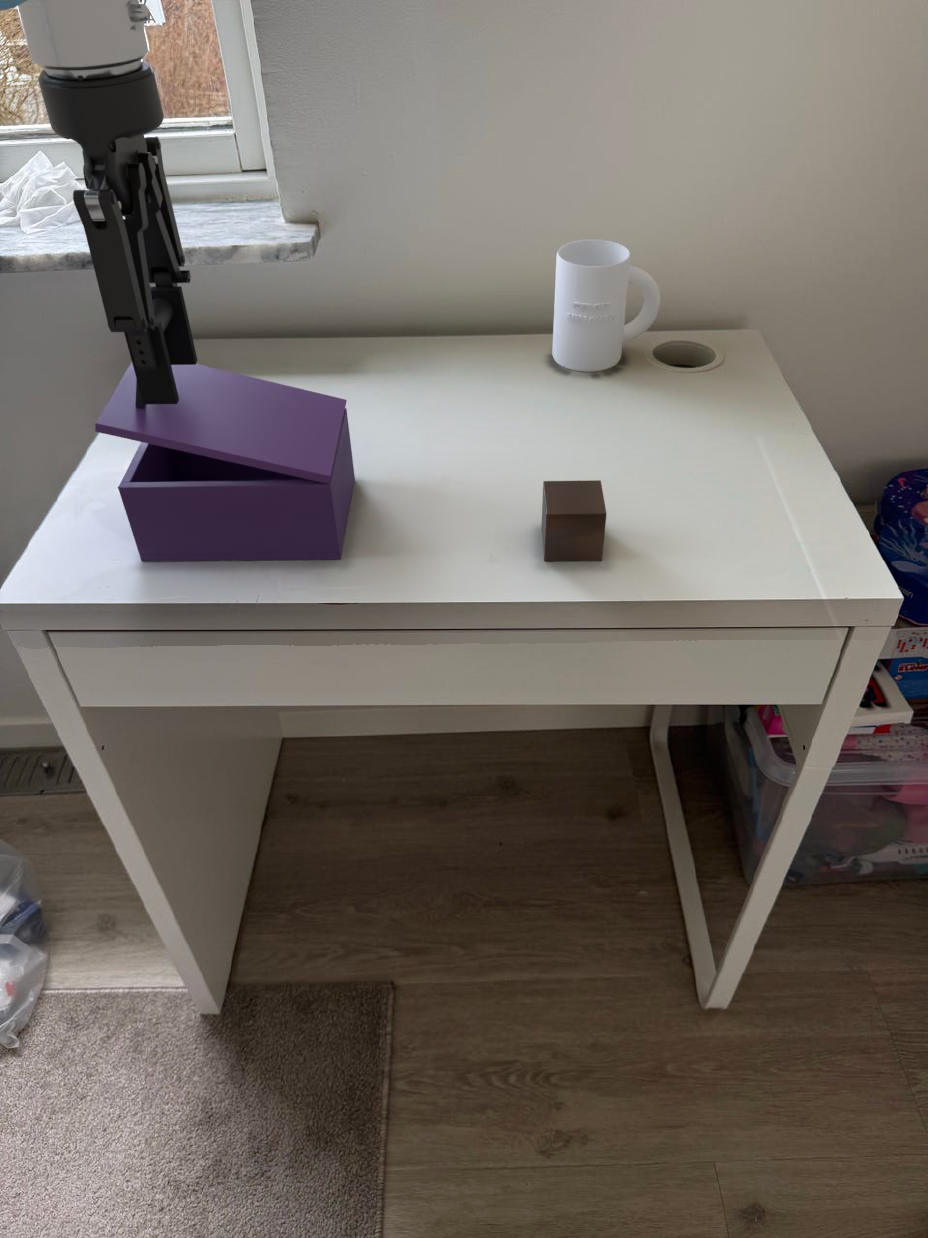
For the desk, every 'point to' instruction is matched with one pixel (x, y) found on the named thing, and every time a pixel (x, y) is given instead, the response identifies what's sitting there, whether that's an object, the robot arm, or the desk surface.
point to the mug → (597, 304)
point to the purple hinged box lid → (231, 418)
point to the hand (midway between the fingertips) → (171, 381)
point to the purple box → (234, 507)
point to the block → (573, 520)
